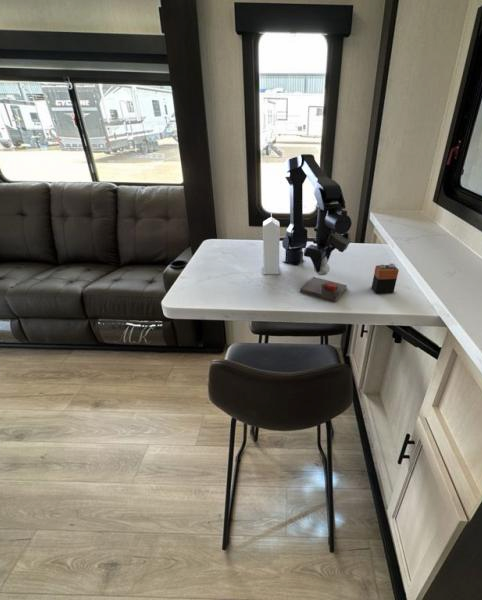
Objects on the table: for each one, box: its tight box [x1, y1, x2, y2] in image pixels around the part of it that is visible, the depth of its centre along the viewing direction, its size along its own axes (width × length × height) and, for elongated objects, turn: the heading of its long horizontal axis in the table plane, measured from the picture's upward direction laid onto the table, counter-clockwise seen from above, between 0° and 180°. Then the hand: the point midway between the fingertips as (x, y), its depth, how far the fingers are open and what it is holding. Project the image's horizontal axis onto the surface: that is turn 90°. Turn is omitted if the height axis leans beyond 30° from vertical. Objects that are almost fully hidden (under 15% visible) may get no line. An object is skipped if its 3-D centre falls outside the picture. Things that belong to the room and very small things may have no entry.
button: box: [325, 281, 337, 290], centre depth 102 cm, size 4×4×2 cm
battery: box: [371, 263, 399, 295], centre depth 106 cm, size 4×7×10 cm, turn 99°
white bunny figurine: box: [313, 257, 331, 276], centre depth 106 cm, size 5×7×8 cm
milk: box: [262, 214, 281, 275], centre depth 114 cm, size 6×6×22 cm
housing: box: [299, 276, 348, 303], centre depth 106 cm, size 13×12×4 cm
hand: (321, 268), depth 107 cm, fingers closed on white bunny figurine, 6 cm apart
